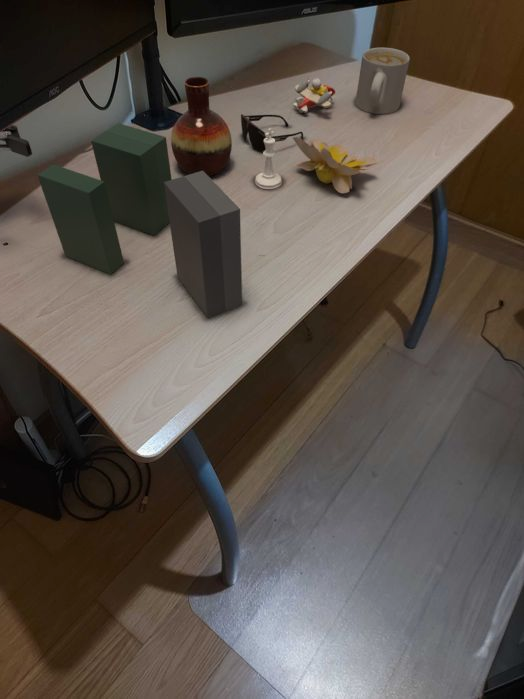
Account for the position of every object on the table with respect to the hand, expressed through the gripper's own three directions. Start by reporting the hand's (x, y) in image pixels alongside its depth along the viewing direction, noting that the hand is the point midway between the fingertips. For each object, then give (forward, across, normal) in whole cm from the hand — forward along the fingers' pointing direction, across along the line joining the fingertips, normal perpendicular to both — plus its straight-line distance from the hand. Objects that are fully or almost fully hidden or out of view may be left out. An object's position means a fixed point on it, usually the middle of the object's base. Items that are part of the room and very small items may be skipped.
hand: (7, 162), depth 74 cm
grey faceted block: (+32, +3, +13) cm, 34 cm away
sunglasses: (+18, +48, +13) cm, 53 cm away
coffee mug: (+32, +72, +13) cm, 80 cm away
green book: (+12, 0, +13) cm, 18 cm away
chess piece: (+25, +33, +13) cm, 44 cm away
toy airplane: (+20, +64, +13) cm, 68 cm away
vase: (+12, +32, +13) cm, 36 cm away
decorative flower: (+36, +40, +13) cm, 55 cm away
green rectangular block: (+12, +13, +13) cm, 22 cm away
